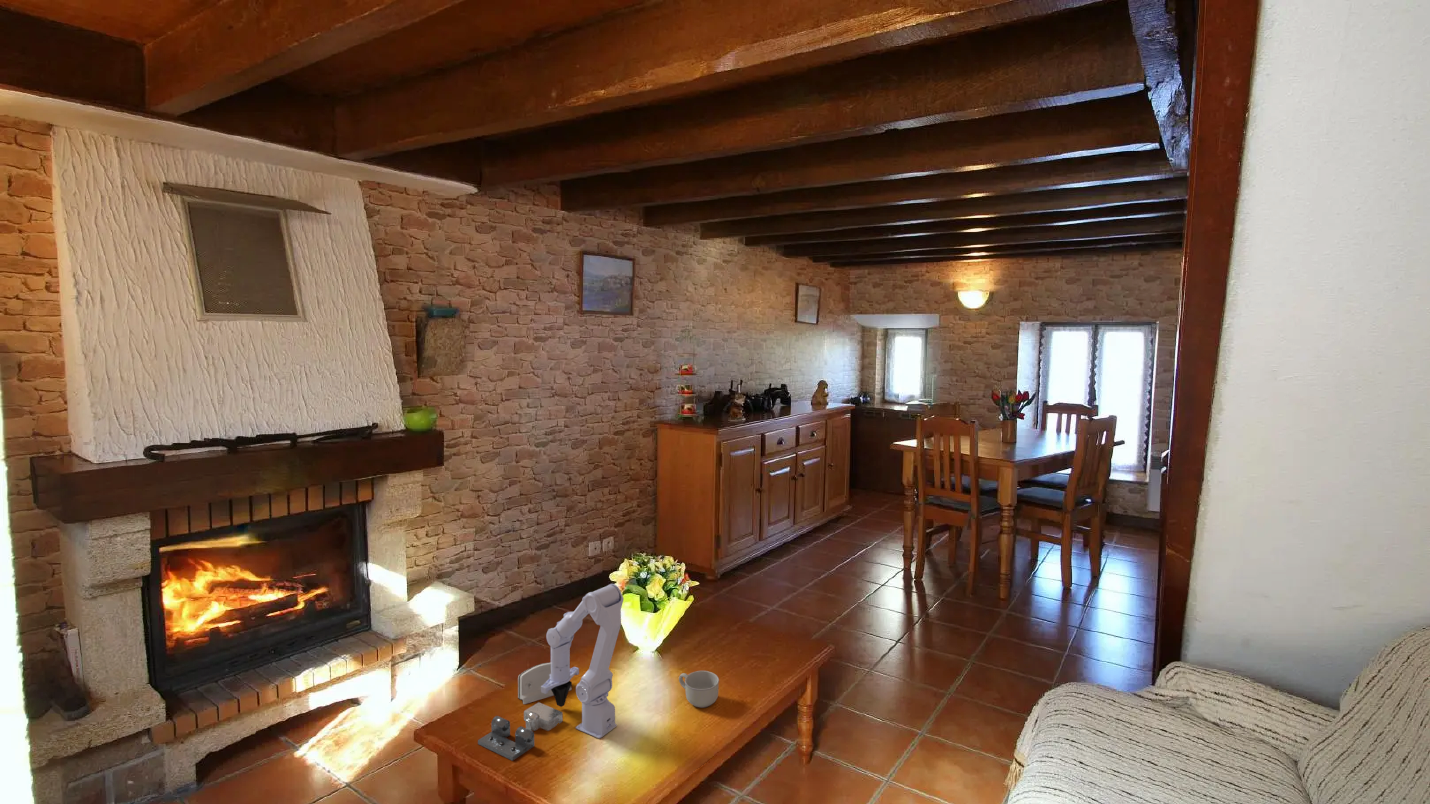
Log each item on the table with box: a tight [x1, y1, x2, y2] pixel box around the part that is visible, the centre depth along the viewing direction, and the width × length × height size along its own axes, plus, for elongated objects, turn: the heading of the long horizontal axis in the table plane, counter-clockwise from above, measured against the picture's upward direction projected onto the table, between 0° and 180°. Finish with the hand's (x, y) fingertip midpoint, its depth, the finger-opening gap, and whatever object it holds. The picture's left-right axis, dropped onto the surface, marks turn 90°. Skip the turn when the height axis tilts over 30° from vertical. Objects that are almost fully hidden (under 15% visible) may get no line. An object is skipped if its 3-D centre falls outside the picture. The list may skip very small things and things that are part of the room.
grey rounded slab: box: [517, 661, 572, 705], centre depth 228 cm, size 17×5×10 cm, turn 124°
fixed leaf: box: [477, 715, 535, 762], centre depth 199 cm, size 14×8×5 cm, turn 59°
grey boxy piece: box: [523, 701, 564, 732], centre depth 210 cm, size 10×9×5 cm
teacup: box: [678, 670, 720, 709], centre depth 224 cm, size 14×11×8 cm
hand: (560, 704), depth 218 cm, fingers closed
